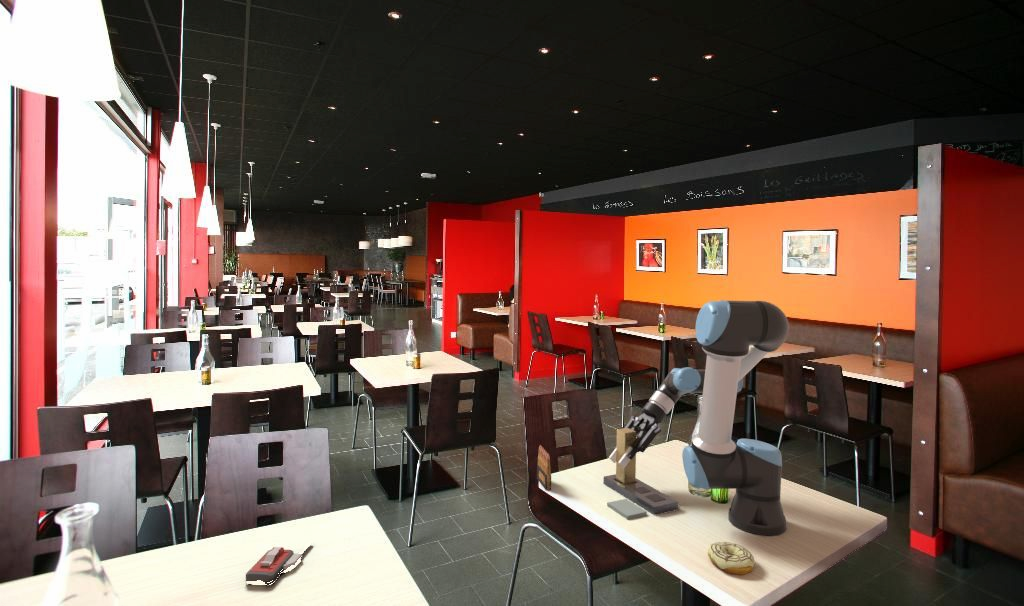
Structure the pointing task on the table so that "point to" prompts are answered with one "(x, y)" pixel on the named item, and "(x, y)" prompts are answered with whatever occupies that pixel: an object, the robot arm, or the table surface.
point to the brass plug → (624, 441)
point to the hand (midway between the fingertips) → (616, 462)
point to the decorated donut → (731, 557)
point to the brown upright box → (544, 469)
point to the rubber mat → (626, 509)
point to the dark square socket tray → (643, 495)
